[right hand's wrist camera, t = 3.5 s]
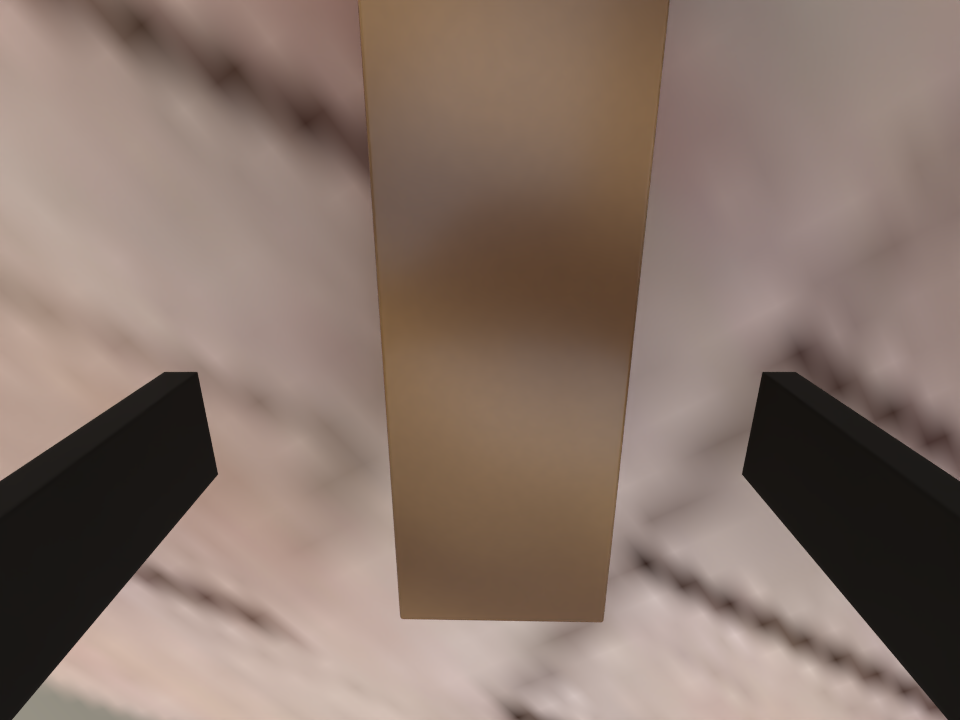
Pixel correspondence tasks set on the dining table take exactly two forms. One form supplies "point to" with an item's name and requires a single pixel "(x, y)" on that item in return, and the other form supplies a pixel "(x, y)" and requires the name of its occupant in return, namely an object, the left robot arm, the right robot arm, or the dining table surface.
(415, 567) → the post
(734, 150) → the dining table surface
